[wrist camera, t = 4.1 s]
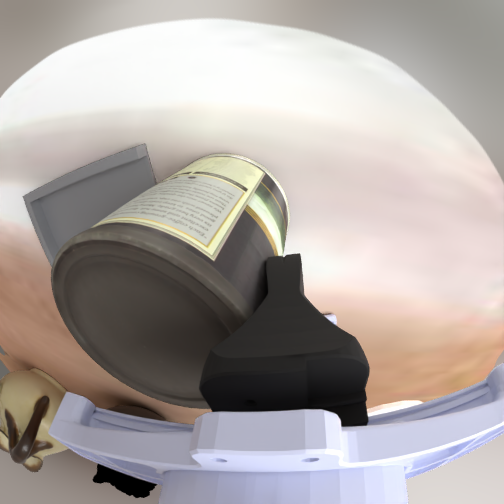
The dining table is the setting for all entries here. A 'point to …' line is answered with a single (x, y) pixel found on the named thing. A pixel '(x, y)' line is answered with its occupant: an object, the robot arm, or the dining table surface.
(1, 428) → the pitcher
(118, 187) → the tray
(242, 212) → the coffee can
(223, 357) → the robot arm
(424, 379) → the dining table surface
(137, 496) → the bowl of black rocks
